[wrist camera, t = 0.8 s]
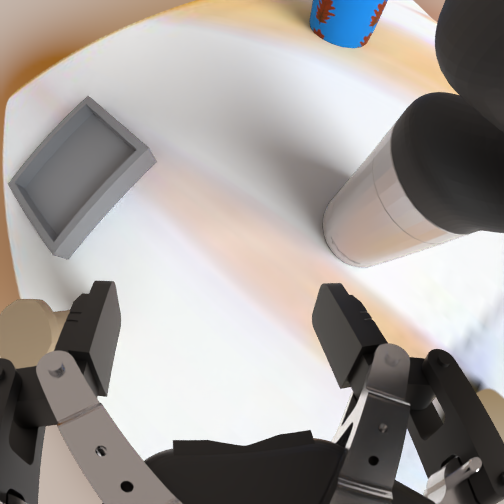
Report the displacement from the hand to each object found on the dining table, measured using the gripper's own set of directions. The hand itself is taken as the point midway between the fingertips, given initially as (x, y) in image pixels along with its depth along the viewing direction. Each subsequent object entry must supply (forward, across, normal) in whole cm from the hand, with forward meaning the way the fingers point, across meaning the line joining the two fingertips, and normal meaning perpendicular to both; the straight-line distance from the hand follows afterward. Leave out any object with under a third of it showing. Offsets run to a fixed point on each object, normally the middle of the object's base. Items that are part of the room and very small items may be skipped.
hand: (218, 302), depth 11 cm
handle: (+16, +11, +17) cm, 26 cm away
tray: (+28, +16, +3) cm, 32 cm away
